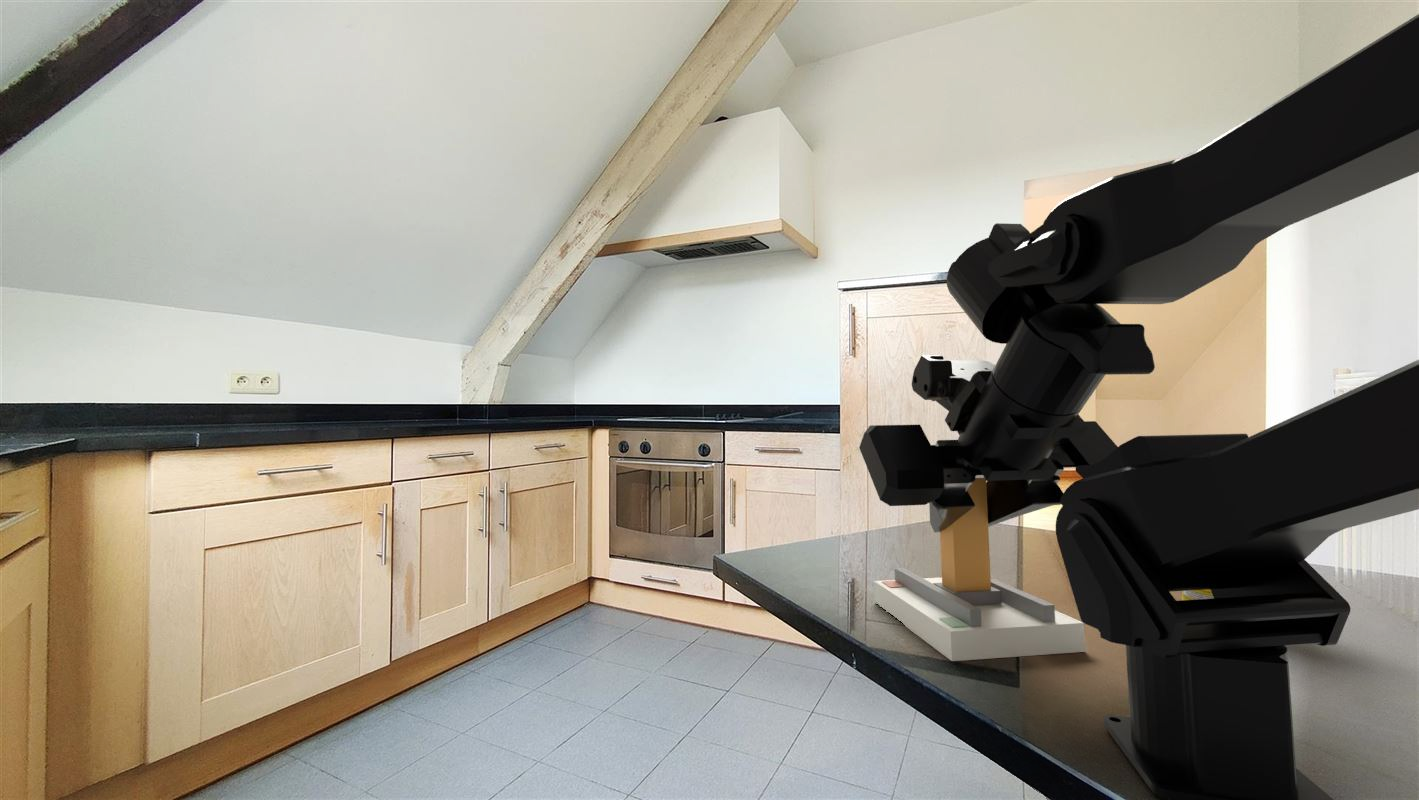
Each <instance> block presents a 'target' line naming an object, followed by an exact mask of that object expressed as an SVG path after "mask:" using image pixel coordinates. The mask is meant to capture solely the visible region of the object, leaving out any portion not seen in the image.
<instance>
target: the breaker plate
mask: <svg viewBox="0 0 1419 800" xmlns="http://www.w3.org/2000/svg"><path fill="white" fill-rule="evenodd" d="M933 583H942V576H941V577H926V578H924V577H921V576H919V575H917V574H916V573H914V572H912V571H910V570H908V569H906V568H904V567H894V579H887V580H873V586H874V587H873V591H874V592H873V595H874V596H873V597H874V601H875V600H876V601H877V602H878V603H879V604H880V605H882V606H883V607H884V608H885V609H886V610H887V611H888V612H889V613H891V614H892V615H893V616H894V617H896V618H897V619H898V620H899V621H901V622H902V623H903V624H904V625H905V627H906V628H907V629H908V630H910V631H911V632H913V633H914V634H915V635H916V636H917V637H919V638H920V639H921V640H923V641H924V642H926V643H927V644H928V645H929V646H931V647H932V648H934V649H935V650H936V651H938V652H939V654H941V655H943V657H946V658H947V659H948V660H949V661H951V662H958V661H959V662H961V661H972V660H973V661H974V660H975V661H976V660H986V659H987V660H989V659H1000V658H1002V659H1003V658H1016V657H1017V658H1018V657H1030V656H1043V655H1045V656H1046V655H1058V654H1072V653H1074V654H1075V653H1085V652H1086V640H1085V639H1086V638H1085V636H1086V635H1085V623H1083V622H1082V621H1080V620H1079V619H1076V618H1073V617H1071V616H1069V615H1067V614H1064V613H1062V612H1060V611H1058V610H1056V608H1055V604H1053V603H1050V602H1049V601H1047V600H1044V599H1041V598H1039V597H1037V596H1035V595H1032V594H1031V593H1027V592H1025V591H1023V590H1020V589H1018V588H1017V587H1013V586H1011V585H1008V584H1006V583H1005V582H1002V581H999V580H997V579H994V578H993V577H991V587H994V588H996V589H998V590H1000V591H1001V604H988V605H972V604H970V603H968V602H966V601H964V600H963V599H961V598H959V597H957V596H955V595H953V594H951V593H949V592H948V591H946V590H944V589H942V588H940V587H938V586H936V585H934V584H933ZM894 617H893V618H894ZM898 620H897V621H898ZM899 621H898V622H899ZM902 623H901V624H902ZM903 624H902V625H903ZM904 625H903V626H904Z"/></svg>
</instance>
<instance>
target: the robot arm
mask: <svg viewBox="0 0 1419 800" xmlns="http://www.w3.org/2000/svg"><path fill="white" fill-rule="evenodd" d="M1418 173H1419V13H1418V14H1416V15H1414V16H1413V17H1412V18H1410V19H1408V20H1406V21H1405V22H1403V23H1401V24H1400V25H1398V26H1397V27H1395V28H1394V29H1392V30H1390V31H1389V32H1387V33H1385V34H1384V35H1382V36H1380V37H1379V38H1377V39H1376V40H1373V41H1372V42H1371V43H1369V44H1367V45H1366V46H1364V47H1363V48H1361V49H1360V50H1358V51H1356V52H1355V53H1353V54H1352V55H1350V56H1347V58H1344V60H1342V61H1340V62H1338V63H1337V64H1335V65H1333V66H1332V67H1331V68H1328V69H1327V70H1325V71H1324V72H1322V73H1321V74H1319V75H1318V76H1316V77H1314V78H1312V79H1311V80H1309V81H1308V82H1306V83H1304V84H1303V85H1301V86H1300V87H1298V88H1296V89H1295V90H1293V91H1292V92H1289V93H1288V94H1286V95H1285V96H1283V97H1281V99H1278V100H1277V101H1275V102H1273V103H1272V104H1270V105H1269V106H1267V107H1266V108H1264V109H1262V110H1261V111H1259V112H1257V113H1256V114H1254V115H1253V116H1251V117H1248V119H1246V120H1244V121H1243V122H1241V123H1239V124H1238V125H1237V126H1235V127H1232V128H1231V129H1230V130H1228V131H1227V132H1225V133H1223V134H1221V135H1220V136H1218V137H1217V138H1215V139H1213V140H1212V141H1211V142H1209V143H1207V144H1206V145H1204V146H1202V147H1201V148H1198V149H1196V150H1194V151H1191V152H1189V153H1187V154H1184V155H1183V156H1180V157H1178V158H1175V159H1174V160H1168V161H1166V162H1160V163H1158V164H1154V165H1151V166H1147V167H1143V168H1140V169H1136V170H1132V171H1128V172H1124V173H1122V174H1117V175H1114V176H1112V177H1109V178H1107V179H1104V180H1103V181H1100V182H1099V183H1096V184H1094V185H1091V186H1089V187H1088V188H1085V189H1083V190H1080V191H1079V192H1076V193H1075V194H1072V195H1070V196H1068V197H1067V198H1064V199H1063V200H1062V201H1060V202H1059V203H1058V204H1057V205H1056V206H1055V207H1054V208H1053V209H1052V210H1051V211H1050V213H1049V214H1048V216H1047V217H1046V218H1045V219H1044V221H1043V223H1042V224H1041V225H1040V226H1038V227H1037V228H1036V229H1034V230H1033V231H1032V232H1030V231H1029V229H1027V228H1026V227H1025V226H1024V225H1023V224H1022V223H1004V222H1002V223H1001V222H999V223H998V222H997V223H994V224H993V227H992V228H991V231H990V232H989V236H988V237H986V238H984V239H982V240H979V241H977V242H975V243H973V244H972V245H971V246H969V247H967V248H966V249H965V250H964V251H963V252H962V253H961V254H960V255H959V256H958V257H957V259H956V260H955V261H953V262H952V263H951V264H950V266H949V268H948V271H947V274H946V275H947V276H946V287H947V290H948V292H949V294H950V295H951V296H952V298H954V300H955V301H956V303H957V304H958V305H959V307H960V308H961V309H962V310H963V312H964V313H965V314H966V315H967V317H968V318H969V319H970V321H971V322H972V323H973V325H974V326H975V327H976V329H977V330H978V331H979V332H980V333H981V335H982V336H983V337H984V338H985V339H986V340H988V341H990V342H992V343H995V344H1001V345H1002V344H1003V345H1004V348H1003V350H1002V352H1001V354H1000V355H999V358H998V360H997V362H996V363H995V364H994V363H992V362H990V361H987V360H982V359H944V356H943V355H941V354H938V355H937V354H935V355H933V354H932V355H931V354H929V355H928V354H924V355H921V356H920V357H919V360H918V362H917V363H916V366H915V367H914V370H913V374H912V379H911V387H912V388H911V389H912V391H913V392H914V393H916V394H917V395H918V396H919V397H921V398H922V399H923V400H925V401H932V402H936V403H937V404H939V405H940V406H942V408H944V409H946V411H948V413H947V415H946V416H945V418H944V423H946V425H947V427H948V428H949V430H950V431H951V432H957V434H958V435H959V436H958V438H957V439H939V440H936V442H935V444H931V442H930V441H929V439H928V437H927V435H926V434H925V433H926V432H924V429H923V427H922V425H921V424H885V425H884V424H882V425H878V424H877V425H873V424H872V425H869V426H868V428H866V430H865V432H864V433H863V436H862V438H861V441H860V444H859V448H858V449H859V451H860V454H861V455H862V458H863V460H864V463H865V465H866V468H867V470H868V473H869V476H870V478H871V481H872V483H873V486H874V488H875V491H876V493H877V496H878V499H879V500H880V502H882V503H884V504H886V505H888V506H889V507H900V506H901V507H902V506H906V507H908V506H925V505H928V504H929V506H928V507H929V524H930V526H931V528H932V530H933V532H934V533H940V532H941V531H942V530H944V529H946V528H947V527H949V526H950V525H951V524H952V523H954V522H955V521H956V520H958V519H959V518H960V517H962V516H963V515H964V514H966V513H967V512H968V511H969V510H971V509H972V508H973V507H974V506H975V504H974V502H973V500H972V498H971V496H970V495H969V493H968V491H967V490H968V488H969V486H970V485H972V484H973V482H974V481H975V478H985V479H986V487H987V509H988V528H989V527H991V526H994V525H998V524H1001V523H1003V522H1006V521H1008V520H1012V519H1014V518H1017V517H1020V516H1023V515H1026V514H1030V513H1032V512H1036V511H1039V510H1043V509H1046V508H1048V507H1052V506H1061V507H1060V509H1059V510H1058V513H1057V516H1056V520H1055V535H1056V540H1057V544H1058V546H1059V547H1058V548H1059V551H1060V554H1061V557H1062V560H1063V565H1064V568H1065V571H1066V574H1067V578H1068V581H1069V583H1070V587H1071V591H1072V595H1073V598H1074V601H1075V605H1076V608H1077V611H1078V615H1079V618H1080V620H1081V622H1083V623H1084V625H1087V626H1089V627H1092V628H1094V629H1096V630H1098V632H1099V633H1100V634H1099V635H1100V638H1101V639H1103V640H1105V641H1107V642H1110V643H1113V644H1118V645H1124V646H1125V657H1126V671H1127V672H1126V673H1127V674H1126V675H1127V676H1126V677H1127V692H1128V693H1127V695H1128V707H1129V708H1128V710H1129V712H1128V713H1129V716H1124V715H1115V714H1105V715H1104V716H1103V725H1104V727H1105V730H1107V732H1108V733H1109V734H1110V736H1111V737H1112V738H1113V739H1114V742H1115V743H1116V744H1117V745H1118V747H1119V748H1120V749H1121V751H1122V752H1123V753H1124V756H1125V757H1126V758H1127V759H1128V760H1129V762H1130V763H1131V765H1132V766H1133V767H1134V769H1135V770H1136V771H1137V772H1138V774H1139V775H1140V777H1141V778H1142V780H1143V782H1144V783H1145V784H1146V785H1147V786H1148V788H1149V789H1150V791H1151V792H1152V793H1154V794H1155V795H1156V796H1157V797H1159V798H1161V799H1164V800H1335V799H1334V798H1332V797H1331V796H1330V795H1329V794H1328V793H1326V792H1325V791H1324V790H1323V789H1322V788H1321V787H1319V786H1318V785H1317V784H1316V783H1315V782H1313V781H1312V780H1311V779H1310V778H1309V777H1307V776H1306V775H1305V774H1304V773H1303V772H1301V771H1300V770H1299V769H1298V768H1297V764H1296V752H1295V750H1296V749H1295V737H1294V736H1295V735H1294V724H1293V723H1294V721H1293V708H1292V707H1293V706H1292V694H1291V682H1290V681H1291V680H1290V666H1289V665H1290V664H1289V654H1288V652H1289V651H1288V647H1298V646H1310V645H1318V646H1320V647H1321V646H1322V647H1326V646H1327V647H1329V646H1335V645H1338V642H1339V639H1340V637H1341V635H1342V633H1343V630H1344V627H1345V625H1346V623H1347V620H1348V618H1349V616H1350V614H1351V606H1350V603H1349V602H1348V601H1347V600H1346V598H1344V597H1343V596H1342V595H1341V594H1340V592H1339V591H1338V590H1336V589H1335V587H1333V586H1332V585H1331V584H1330V583H1329V582H1328V581H1327V580H1326V579H1325V578H1324V577H1323V576H1322V575H1321V574H1320V573H1319V572H1318V571H1317V570H1316V569H1315V568H1313V566H1312V565H1310V563H1309V562H1307V560H1305V559H1307V558H1308V557H1309V556H1310V555H1311V554H1312V553H1313V552H1314V551H1316V549H1317V548H1319V546H1321V545H1322V543H1324V542H1325V541H1326V540H1327V539H1328V538H1329V537H1331V536H1332V535H1334V534H1336V533H1338V532H1341V531H1342V530H1345V529H1348V528H1352V527H1356V526H1360V525H1363V524H1369V523H1371V522H1376V521H1380V520H1384V519H1387V518H1391V517H1394V516H1399V515H1402V514H1406V513H1409V512H1413V511H1416V510H1417V511H1418V510H1419V359H1416V360H1415V361H1412V362H1410V363H1408V364H1406V365H1404V366H1401V367H1399V368H1397V369H1394V370H1393V371H1390V372H1389V373H1388V372H1387V373H1386V374H1384V375H1381V376H1379V377H1377V378H1375V379H1373V380H1370V381H1369V382H1366V383H1364V384H1362V385H1361V386H1358V387H1355V388H1353V389H1351V390H1348V391H1346V392H1344V393H1342V394H1341V395H1338V396H1336V397H1333V398H1331V399H1329V400H1327V401H1324V402H1323V403H1320V404H1318V405H1316V406H1313V407H1311V408H1309V409H1307V410H1305V411H1303V412H1300V413H1298V414H1297V415H1295V416H1292V417H1289V418H1288V419H1286V420H1283V421H1280V422H1279V423H1277V424H1275V425H1272V426H1270V427H1268V428H1266V429H1264V430H1262V431H1261V430H1260V431H1259V432H1257V433H1254V434H1253V435H1250V436H1249V434H1247V433H1216V434H1214V433H1211V434H1210V433H1208V434H1205V433H1204V434H1171V435H1170V434H1167V435H1161V434H1160V435H1137V436H1135V437H1133V438H1131V439H1130V440H1127V441H1126V442H1124V443H1122V444H1120V445H1119V446H1118V445H1117V444H1116V443H1115V442H1114V440H1113V439H1112V438H1111V437H1110V436H1109V435H1108V434H1107V433H1106V432H1105V431H1104V429H1103V428H1102V427H1101V425H1099V423H1098V422H1097V421H1096V420H1095V421H1094V420H1093V421H1092V420H1089V421H1088V420H1084V419H1083V417H1081V416H1080V415H1079V413H1081V411H1082V409H1083V408H1084V407H1085V405H1086V404H1087V402H1088V401H1089V399H1090V398H1091V397H1092V395H1093V393H1094V392H1095V391H1096V389H1097V388H1098V386H1099V385H1100V383H1101V382H1102V381H1103V379H1104V378H1105V376H1107V375H1111V376H1112V375H1113V376H1114V375H1117V376H1118V375H1150V374H1151V373H1153V372H1154V370H1155V368H1156V366H1155V360H1154V354H1153V353H1152V350H1151V349H1150V347H1149V345H1148V343H1147V341H1146V339H1145V326H1144V325H1143V324H1141V323H1120V322H1119V320H1117V319H1116V318H1115V317H1114V316H1112V315H1111V314H1110V313H1109V311H1107V310H1106V309H1105V308H1103V307H1102V306H1101V305H1164V304H1169V303H1174V302H1176V301H1178V300H1181V299H1182V298H1183V299H1184V297H1186V296H1188V295H1190V294H1192V293H1194V292H1195V291H1198V290H1200V289H1201V288H1203V287H1205V286H1206V285H1208V284H1210V283H1211V282H1214V281H1216V280H1217V279H1219V278H1220V277H1222V276H1224V275H1227V274H1229V273H1230V272H1231V271H1234V270H1235V269H1236V268H1238V266H1239V265H1240V264H1241V263H1242V262H1243V261H1244V259H1245V258H1246V257H1247V256H1248V255H1249V254H1250V252H1252V250H1253V249H1254V248H1255V247H1256V246H1257V245H1258V244H1259V243H1261V242H1263V241H1264V240H1266V239H1268V238H1269V237H1271V236H1272V235H1275V234H1276V233H1278V232H1280V231H1281V230H1284V229H1285V228H1287V227H1290V226H1291V225H1294V224H1296V223H1298V222H1301V221H1303V220H1306V219H1309V218H1310V217H1313V216H1315V215H1318V214H1321V213H1323V212H1326V211H1327V210H1330V209H1333V208H1335V207H1338V206H1340V205H1343V204H1345V203H1347V202H1349V201H1352V200H1354V199H1356V198H1360V197H1361V196H1364V195H1366V194H1369V193H1372V192H1374V191H1376V190H1379V189H1381V188H1384V187H1386V186H1389V185H1391V184H1393V183H1397V182H1398V181H1400V180H1403V179H1406V178H1408V177H1410V176H1412V175H1416V174H1418ZM1005 344H1006V345H1005ZM1066 468H1075V471H1076V473H1077V474H1078V475H1079V476H1080V477H1081V479H1077V480H1076V481H1074V482H1073V483H1072V484H1070V485H1069V486H1068V487H1066V488H1065V490H1064V492H1063V490H1061V489H1062V488H1061V487H1060V486H1059V485H1058V483H1059V482H1060V481H1061V477H1060V475H1061V474H1062V473H1063V471H1064V470H1065V469H1066ZM1207 589H1211V592H1212V594H1213V597H1214V599H1197V600H1182V599H1180V600H1176V599H1175V598H1176V597H1174V595H1173V594H1172V592H1182V591H1189V590H1207Z"/></svg>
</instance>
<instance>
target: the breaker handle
mask: <svg viewBox="0 0 1419 800" xmlns="http://www.w3.org/2000/svg"><path fill="white" fill-rule="evenodd" d="M986 483H987V481H986V479H985V478H975V481H974V482H973V484H972V485H970V486H969V488H968V490H967V491H968V493H969V495H970V496H971V498H972V500H973V502H974V504H975V506H974V507H973V508H972V509H971V510H969V511H968V512H967V513H966V514H964V515H963V516H962V517H960V518H959V519H958V520H956V521H955V522H954V523H952V524H951V525H950V526H949V527H947V528H946V529H944V530H942V531H941V532H939V537H940V558H941V559H940V561H941V562H940V563H941V577H942V583H933V584H934V585H936V586H938V587H940V588H942V589H944V590H946V591H948V592H949V593H951V594H953V595H955V596H957V597H959V598H961V599H963V600H964V601H966V602H968V603H970V604H972V605H988V604H1001V591H1000V590H998V589H996V588H994V587H991V578H992V576H991V558H990V557H991V556H990V539H989V538H990V534H989V527H988V509H987V487H986Z"/></svg>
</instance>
